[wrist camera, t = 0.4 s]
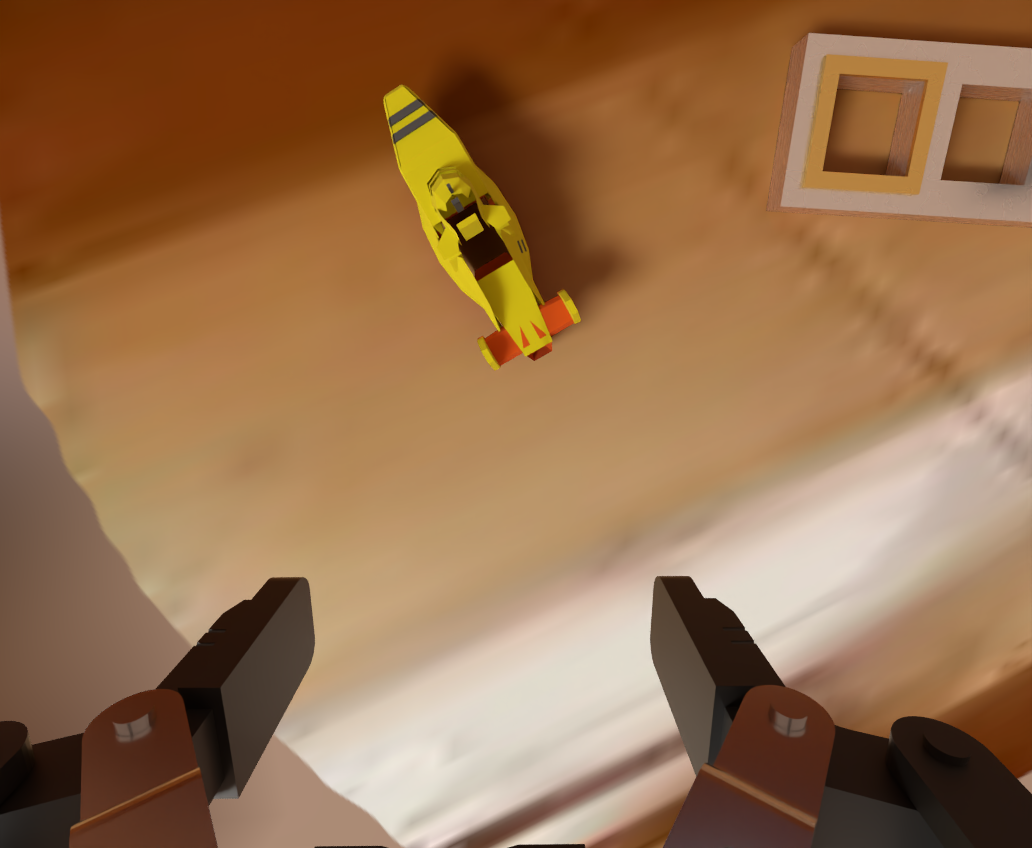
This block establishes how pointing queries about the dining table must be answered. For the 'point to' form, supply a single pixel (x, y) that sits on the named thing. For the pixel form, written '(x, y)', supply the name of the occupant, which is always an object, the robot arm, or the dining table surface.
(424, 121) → the toy boat
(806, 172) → the rail
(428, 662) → the dining table surface
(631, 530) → the dining table surface
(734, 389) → the dining table surface
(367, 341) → the dining table surface
